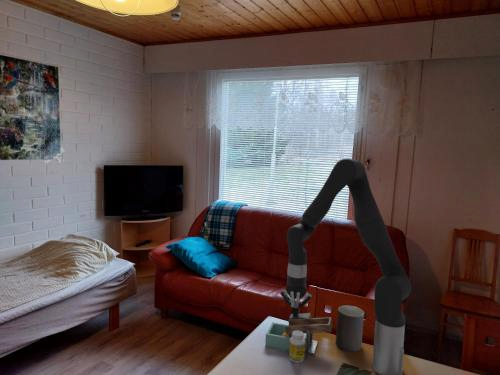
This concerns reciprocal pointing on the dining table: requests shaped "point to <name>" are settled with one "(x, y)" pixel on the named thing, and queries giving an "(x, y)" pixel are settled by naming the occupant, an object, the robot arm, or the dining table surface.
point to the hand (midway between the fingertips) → (294, 315)
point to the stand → (310, 344)
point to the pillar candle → (349, 328)
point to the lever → (309, 324)
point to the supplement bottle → (297, 346)
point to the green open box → (277, 337)
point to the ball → (286, 335)
